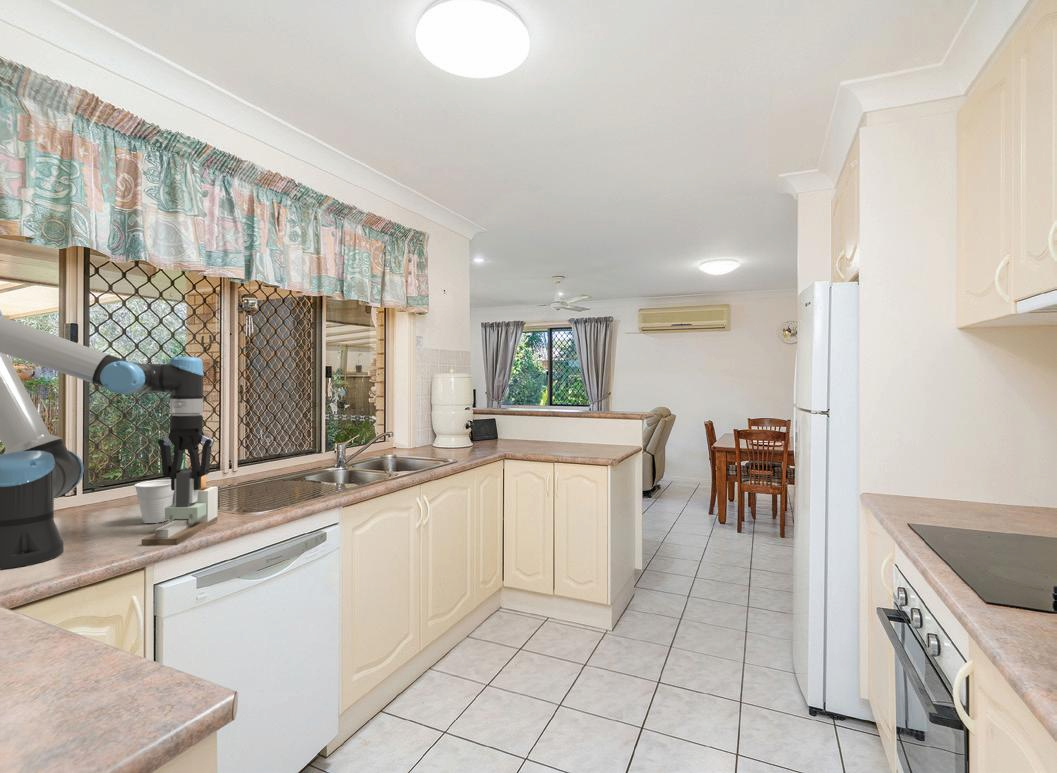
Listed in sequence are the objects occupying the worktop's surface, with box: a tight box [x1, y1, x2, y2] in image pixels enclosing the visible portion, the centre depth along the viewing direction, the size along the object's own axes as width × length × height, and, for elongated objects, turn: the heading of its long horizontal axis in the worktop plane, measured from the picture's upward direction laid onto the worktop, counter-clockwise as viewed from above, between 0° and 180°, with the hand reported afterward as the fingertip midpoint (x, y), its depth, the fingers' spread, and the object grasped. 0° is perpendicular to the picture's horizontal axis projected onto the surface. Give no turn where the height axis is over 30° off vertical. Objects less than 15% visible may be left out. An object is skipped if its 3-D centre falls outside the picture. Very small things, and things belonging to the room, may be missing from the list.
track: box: [141, 516, 218, 546], centre depth 142 cm, size 8×22×4 cm, turn 7°
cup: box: [134, 479, 174, 524], centre depth 152 cm, size 10×10×11 cm
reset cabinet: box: [196, 486, 219, 522], centre depth 150 cm, size 8×6×8 cm
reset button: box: [198, 475, 207, 491], centre depth 150 cm, size 4×4×5 cm
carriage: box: [165, 470, 206, 523], centre depth 143 cm, size 8×5×13 cm, turn 97°
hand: (186, 502), depth 143 cm, fingers closed on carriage, 3 cm apart
